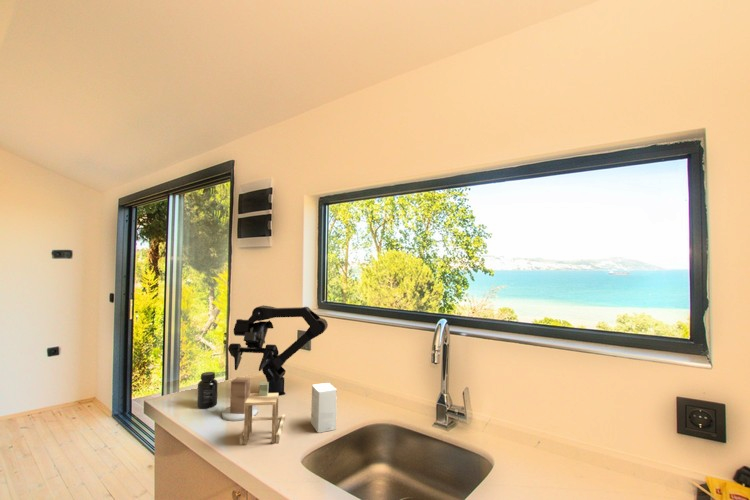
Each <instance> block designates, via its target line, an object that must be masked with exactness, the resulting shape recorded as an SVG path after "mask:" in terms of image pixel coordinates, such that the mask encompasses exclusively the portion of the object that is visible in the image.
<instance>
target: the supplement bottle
mask: <svg viewBox="0 0 750 500" xmlns="http://www.w3.org/2000/svg"><path fill="white" fill-rule="evenodd" d="M215 378H216V373H215V372H214V371H206V372H202V373H201V374H200V381H198V383H197V400H196V402H197V403H196V404H197V408H198V409H202V410H206V409H211V408H215V406H217V404H218V388H219V387H218V383H219V382H218V380H217V379H215Z"/></svg>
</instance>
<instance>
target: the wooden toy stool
mask: <svg viewBox="0 0 750 500" xmlns="http://www.w3.org/2000/svg"><path fill="white" fill-rule="evenodd" d="M258 387H259V388H258V389H259V390H258V391H259V392H258V393H254V392H253V393H251V392H250V395H249V397H248V398H247V400H246V402H245V418H244V420H243V423H244V424H243V425H244V427H243V428H244V429H243V433H244V443H243V445H247V443H248V440H249V439H250V435H251V434H252V430H253V423H252V406H253V405H255V406H271V405H272V413H271V417H272V420H271V422H272V423H271V444H275V443H276V433H278V429H279V427H278V426H279V424H278V423H279V419H278V416H279V397H280V395H279V393H268V387H269V382H267V381H264V382H263V381H261V382H260V384H259V386H258Z"/></svg>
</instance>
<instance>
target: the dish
mask: <svg viewBox="0 0 750 500" xmlns="http://www.w3.org/2000/svg"><path fill="white" fill-rule="evenodd" d="M258 410H259V408H258V405H253V406H252V416H254V417H257V415H258V413H259V411H258ZM221 417H222V419H223V420H225V421H230V422H241V421H244V418H245V414H231V413H230V406H227V407H226V408H224V409H223V410H222V412H221Z"/></svg>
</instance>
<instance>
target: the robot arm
mask: <svg viewBox="0 0 750 500" xmlns="http://www.w3.org/2000/svg"><path fill="white" fill-rule="evenodd" d="M275 318H302V319H303V320H304V321H305V322H306V324H307V325H308V326H309V327H308V328H307V329H306V331H305V332H304V334H302V335H301V336H300V337H298V338H297V339H296V340H295V341H294V342H293V343H292V344H290V345H289V346H288V347H287V348H286V349H285V350H283V352H281V353H280V354H279V350H278V347H277V345H276V344H268V343H267V344H266V340H265V339H266V337H267V333H268V331H269V329H270V330H271V329H274V325H273V322H272V321H271V320H270V319H275ZM265 320H267V321H265ZM328 326H329V325H328V322H327V320H326V319H325V318H322V317H320V316H319V315H318V314H317V313H315V311H313V310H312V309H311V308H310V307H309V306H302V307H301V306H300V307H275V306H270V305H263V304H262V305H260V306H256V307H255V308H253V310H252V312H251V316H249V318H248V319H241V318H238V319H236V321H235V324H234V327H233V335H234V336H237V337H238V336H240V337H243V341H244V342H245V343H244V344H245V346H246V347H245V346H242V345H241V343H233V342H232V343H230V344H229V345H228V347H227V350H228V352H229V355H230V356H231V357H233V359H234V370H235V371H238V369H239V366H240V363H241V361H242V358H243V357H242V356H243V354H244V353H249V354H250V353H252V354H263V355H262V357H261V361H260V364H259V367H258V371H259V372H260V371H262V374H263V375H264V376H265V378H266V382H269V387H268V393H279V396H282V395H286V392H285V377H284V376H285V374H286V370H285V368H284V367H283V366H284V364H285V363H286V362H287V360H289V359H290V358H291V357H292V356H294V354H296V353H297V352H299V350H300V349H302V347H304V346H305V345H306V344H308V343H309V342H310V341H312V340H314V339H315V338H317V337H319V336H321V335H322V334H323V333H324V332H325V331H326V330H327V329H328ZM264 344H266V345H265V347H264Z"/></svg>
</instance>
